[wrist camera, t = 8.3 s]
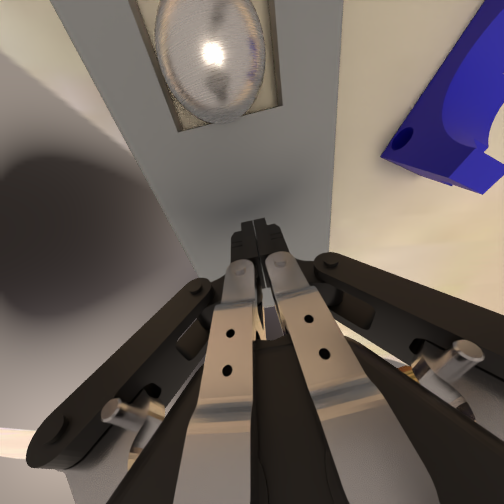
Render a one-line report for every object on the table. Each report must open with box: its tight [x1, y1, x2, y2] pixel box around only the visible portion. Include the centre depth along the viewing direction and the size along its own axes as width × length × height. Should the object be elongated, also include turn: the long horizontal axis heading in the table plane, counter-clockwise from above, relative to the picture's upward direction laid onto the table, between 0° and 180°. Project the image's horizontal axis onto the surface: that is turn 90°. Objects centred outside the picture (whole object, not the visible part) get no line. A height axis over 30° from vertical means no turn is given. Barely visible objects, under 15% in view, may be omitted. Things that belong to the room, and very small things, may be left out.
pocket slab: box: [50, 0, 343, 308], centre depth 15 cm, size 28×13×2 cm, turn 12°
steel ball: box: [155, 0, 265, 124], centre depth 9 cm, size 5×5×5 cm
